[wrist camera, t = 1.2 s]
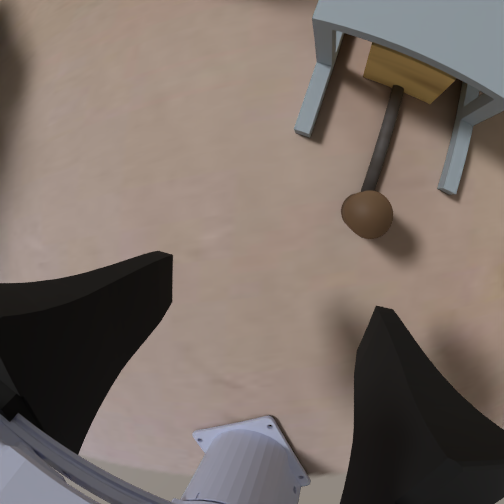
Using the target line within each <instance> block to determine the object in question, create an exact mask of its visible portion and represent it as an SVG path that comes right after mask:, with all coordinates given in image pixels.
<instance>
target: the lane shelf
mask: <svg viewBox="0 0 504 504" xmlns="http://www.w3.org/2000/svg"><path fill="white" fill-rule="evenodd" d="M312 21H313V29H314V38H315V48H316V58H317V63H316V66H315V69H314V72H313V75H312V78H311V80H310V83H309V86H308V89H307V92H306V95H305V98H304V101H303V104H302V107H301V110H300V113H299V116H298V118H297V121H296V124H295V127H294V130H295V133H298V134H301V135H304V136H307V137H310V136H311V133H312V130H313V127H314V124H315V121H316V119H317V116H318V113H319V110H320V107H321V104H322V100H323V97H324V94H325V91H326V88H327V85H328V82H329V79H330V76H331V73H332V70H333V67H334V64H335V61H336V58H337V55H338V52H339V48H340V45H341V42H342V39H343V36H344V33H346V34H349V35H352V36H356V37H359V38H362V39H365V40H368V41H371V42H374V43H377V44H379V45H382V46H385V47H388V48H390V49H393V50H396V51H398V52H401V53H403V54H406V55H408V56H411V57H413V58H415V59H418V60H420V61H422V62H424V63H427V64H429V65H431V66H433V67H435V68H437V69H440V70H442V71H444V72H446V73H448V74H450V75H452V76H454V77H456V78H458V79H460V80H461V81H463V82H462V88H461V94H460V99H459V105H458V110H457V114H456V119H455V124H454V128H453V132H452V137H451V141H450V145H449V149H448V153H447V156H446V160H445V164H444V167H443V171H442V174H441V178H440V181H439V185H438V188H437V189H439V190H441V191H443V192H445V193H447V194H456V192H457V189H458V186H459V182H460V178H461V175H462V171H463V167H464V163H465V160H466V155H467V151H468V147H469V143H470V138H471V134H472V129H473V126H474V125H476V124H478V123H480V122H482V121H484V120H486V119H488V118H490V117H492V116H494V115H496V114H498V113H500V112H502V111H504V0H319V1H318V4H317V6H316V9H315V12H314V14H313V17H312ZM479 90H480V91H481V92H483V94H481V95H480V96H479ZM478 96H479V97H478Z"/></svg>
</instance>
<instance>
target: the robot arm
mask: <svg viewBox="0 0 504 504" xmlns="http://www.w3.org/2000/svg"><path fill="white" fill-rule="evenodd" d="M172 270H173V255H172V254H168V253H164V252H161V251H155V252H150V253H147V254H143V255H140V256H137V257H134V258H131V259H128V260H125V261H122V262H119V263H116V264H113V265H110V266H106V267H103V268H99V269H96V270H93V271H89V272H86V273H82V274H78V275H74V276H69V277H64V278H59V279H53V280H45V281H37V282H28V283H0V504H100V503H98V502H97V501H95V500H93V499H91V498H90V497H88V496H86V495H84V494H83V493H81V492H80V491H78V490H77V489H75V488H74V487H72V486H70V485H69V484H67V483H66V481H65V480H64V478H63V476H61V475H60V474H59V473H61V474H62V475H64V476H65V477H67V478H69V479H70V480H71V481H73V482H75V483H76V484H78V485H79V486H81V487H83V488H84V489H86V490H88V491H89V492H91V493H93V494H94V495H96V496H98V497H100V498H102V499H103V500H105V501H107V502H109V503H111V504H298V501H299V494H300V489H301V487H302V486H307V485H309V484H310V482H311V480H310V478H309V477H308V475H307V473H306V472H305V470H304V469H303V467H302V465H301V464H300V462H299V460H298V459H297V457H296V456H295V454H294V452H293V451H292V449H291V447H290V446H289V444H288V442H287V441H286V439H285V437H284V435H283V434H282V432H281V430H280V429H279V427H278V425H277V423H276V422H275V420H274V419H273V417H271V416H263V417H259V418H255V419H251V420H246V421H242V422H237V423H233V424H228V425H223V426H218V427H212V428H207V429H201V430H196V431H194V432H193V437H194V439H195V440H196V441H197V443H198V444H199V446H200V447H201V448H202V450H203V451H204V453H205V455H204V457H203V459H202V461H201V463H200V464H199V466H198V468H197V470H196V472H195V474H194V475H193V477H192V479H191V481H190V483H189V485H188V486H187V488H186V490H185V492H184V493H183V495H182V497H181V499H180V500H179V499H176V498H173V500H172V502H170V501H168V500H165V499H163V498H160V497H158V496H156V495H153V494H151V493H149V492H146V491H144V490H142V489H140V488H138V487H136V486H134V485H132V484H129V483H127V482H125V481H123V480H121V479H120V478H118V477H116V476H114V475H112V474H110V473H108V472H106V471H104V470H103V469H101V468H99V467H97V466H95V465H94V464H92V463H90V462H89V461H87V460H85V459H84V458H82V457H80V456H79V455H78V454H79V451H80V448H81V446H82V444H83V441H84V439H85V437H86V434H87V432H88V430H89V428H90V426H91V424H92V421H93V419H94V417H95V415H96V413H97V411H98V409H99V408H100V406H101V404H102V402H103V400H104V399H105V397H106V395H107V393H108V391H109V390H110V388H111V386H112V385H113V383H114V381H115V380H116V378H117V377H118V375H119V373H120V372H121V370H122V369H123V368H124V366H125V365H126V363H127V362H128V361H129V360H130V358H131V357H132V356H133V355H134V354H135V352H136V351H137V350H138V349H139V347H140V346H141V345H142V344H143V343H144V341H145V340H146V339H147V338H148V337H149V335H150V334H151V333H152V332H153V330H154V329H155V328H156V327H157V325H158V324H159V323H160V321H161V320H162V318H163V317H164V315H165V313H166V312H167V310H168V308H169V307H170V305H171V303H172ZM269 425H272V426H269ZM201 439H202V440H201ZM50 466H51V467H50ZM53 468H54V469H55V470H57V471H58V472H59V473H58V472H56V471H55V470H54V469H53ZM503 497H504V430H503V429H502V428H500V427H499V426H497V425H496V424H495V423H493V422H492V421H491V420H489V419H488V418H487V417H485V416H484V415H483V414H482V413H480V412H479V411H478V410H477V409H476V408H475V407H473V406H472V405H471V404H470V403H469V402H468V401H467V400H466V399H465V398H463V397H462V396H461V395H460V394H459V393H458V392H457V391H456V390H455V389H454V388H453V386H452V385H451V384H450V383H449V382H448V381H447V380H446V379H445V378H444V377H443V376H442V374H441V373H440V372H439V371H438V370H437V369H436V367H435V366H434V365H433V364H432V362H431V361H430V360H429V358H428V357H427V356H426V355H425V353H424V352H423V351H422V349H421V348H420V346H419V345H418V344H417V342H416V341H415V340H414V338H413V337H412V335H411V334H410V332H409V331H408V330H407V328H406V327H405V325H404V324H403V322H402V321H401V320H400V318H399V317H398V315H397V314H396V313H395V312H394V310H393V309H389V308H384V307H380V306H376V307H375V310H374V312H373V315H372V317H371V319H370V322H369V324H368V327H367V329H366V331H365V334H364V336H363V338H362V341H361V343H360V345H359V347H358V350H357V355H356V363H355V372H354V433H353V443H352V450H351V456H350V462H349V467H348V472H347V477H346V481H345V486H344V490H343V494H342V498H341V502H340V504H495V503H496V502H498V501H499V500H501V499H502V498H503Z"/></svg>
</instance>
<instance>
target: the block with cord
mask: <svg viewBox="0 0 504 504" xmlns="http://www.w3.org/2000/svg"><path fill="white" fill-rule="evenodd" d="M363 77H364V78H367V79H370V80H373V81H375V82H378V83H381V84H383V85H386V86H389V87H391V88H392V91H391V95H390V99H389V102H388V106H387V109H386V113H385V116H384V120H383V123H382V127H381V130H380V133H379V137H378V140H377V143H376V146H375V150H374V153H373V156H372V159H371V162H370V165H369V168H368V171H367V174H366V177H365V180H364V183H363V186H362V189H361V192H359V193H356V194H353V195H350V196H349V197H348V198H347V199H346V200H345V201H344V203H343V205H342V209H341V214H342V218H343V220H344V222H345V223H346V225H347V226H348V227H349V228H350V229H351V230H352V231H353V232H354V233H356V234H357V235H358V236H360V237H362V238H366V239H374V238H378V237H380V236H382V235H384V234H385V233H386V232H387V231H388V230H389V228H390V226H391V224H392V221H393V209H392V206H391V204H390V202H389V201H388V199H387V198H386V197H385V196H384V195H382V194H381V193H379V192H376V191H374V190H375V187H376V184H377V181H378V178H379V175H380V172H381V168H382V165H383V162H384V159H385V156H386V153H387V149H388V146H389V143H390V139H391V136H392V133H393V129H394V126H395V122H396V118H397V115H398V111H399V108H400V104H401V100H402V96H403V93H406V94H408V95H410V96H413V97H415V98H417V99H419V100H422V101H424V102H426V103H428V104H431V103H432V102H433V101H434V100H435V99H436V98H437V97H438V96H439V95H440V94H441V93H443V92H444V91H445V90H446V89H447V88H448V87H449V86H450V85H451V84H452V83H453V82H454V81H455V79H456V77H454V76H452V75H450V74H448V73H446V72H444V71H442V70H440V69H437V68H435V67H433V66H431V65H429V64H427V63H424V62H422V61H420V60H418V59H415V58H413V57H411V56H408V55H406V54H403V53H401V52H398V51H396V50H393V49H390V48H388V47H385V46H382V45H379V44H377V43H374V42H372V45H371V49H370V53H369V56H368V60H367V64H366V67H365V71H364V75H363Z"/></svg>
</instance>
